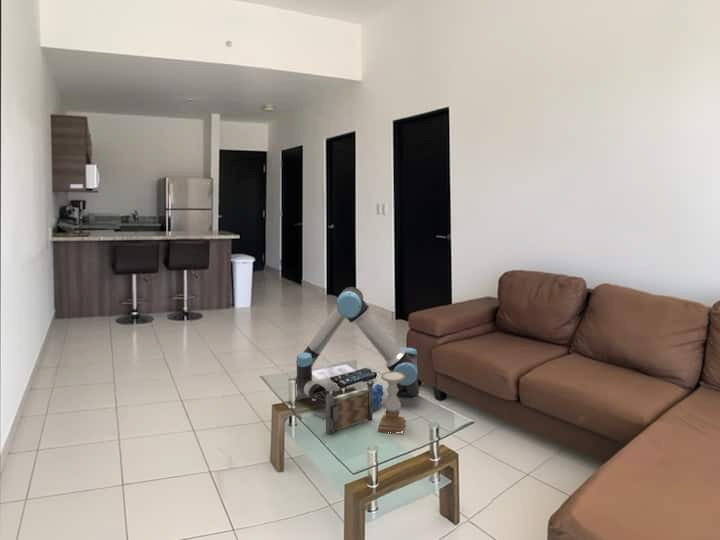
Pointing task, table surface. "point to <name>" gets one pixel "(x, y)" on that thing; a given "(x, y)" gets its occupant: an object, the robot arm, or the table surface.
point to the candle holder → (392, 405)
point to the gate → (351, 408)
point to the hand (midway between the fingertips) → (343, 407)
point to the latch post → (331, 413)
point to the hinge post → (370, 400)
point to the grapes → (377, 396)
